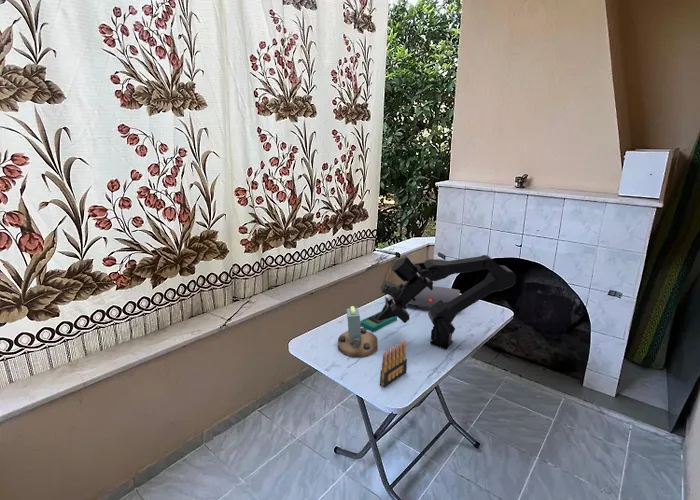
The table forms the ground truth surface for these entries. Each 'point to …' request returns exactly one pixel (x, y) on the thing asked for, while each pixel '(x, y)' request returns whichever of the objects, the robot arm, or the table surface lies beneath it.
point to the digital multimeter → (376, 322)
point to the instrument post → (353, 323)
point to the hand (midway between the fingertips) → (378, 319)
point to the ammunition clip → (393, 364)
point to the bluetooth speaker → (434, 296)
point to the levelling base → (358, 344)
